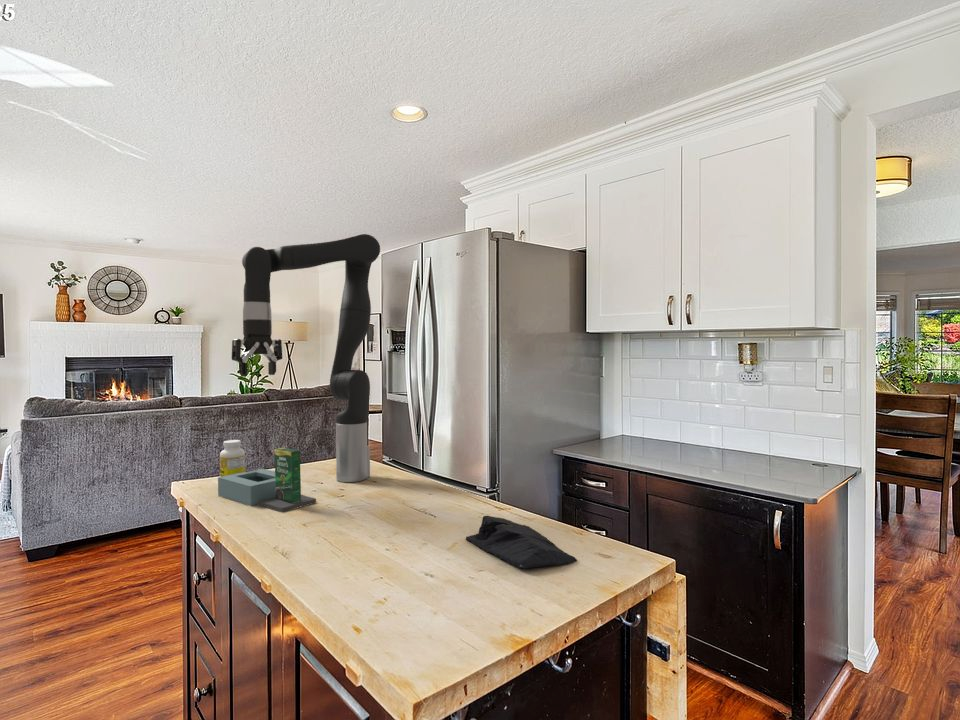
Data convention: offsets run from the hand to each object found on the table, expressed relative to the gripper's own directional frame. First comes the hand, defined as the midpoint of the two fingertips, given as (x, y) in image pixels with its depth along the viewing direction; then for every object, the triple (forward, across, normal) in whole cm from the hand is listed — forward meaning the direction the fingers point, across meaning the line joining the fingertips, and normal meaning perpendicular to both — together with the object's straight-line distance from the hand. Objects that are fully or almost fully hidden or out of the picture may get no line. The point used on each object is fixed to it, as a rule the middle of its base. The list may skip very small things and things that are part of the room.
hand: (258, 375), depth 153 cm
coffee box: (+31, +5, +21) cm, 38 cm away
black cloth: (+33, -4, +85) cm, 92 cm away
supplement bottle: (+32, +3, -9) cm, 34 cm away
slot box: (+32, +5, +7) cm, 33 cm away
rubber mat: (+32, +5, +21) cm, 39 cm away
